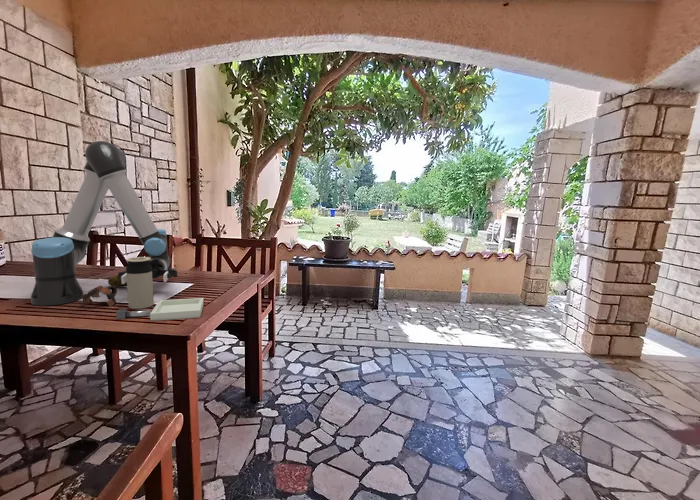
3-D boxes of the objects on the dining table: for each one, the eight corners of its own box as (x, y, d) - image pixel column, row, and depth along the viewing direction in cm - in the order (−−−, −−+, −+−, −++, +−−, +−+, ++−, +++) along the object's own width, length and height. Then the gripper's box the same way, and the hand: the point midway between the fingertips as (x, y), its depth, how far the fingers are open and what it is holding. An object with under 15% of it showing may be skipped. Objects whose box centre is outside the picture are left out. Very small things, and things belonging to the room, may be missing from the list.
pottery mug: (106, 310, 119) (90, 292, 116) (87, 319, 121) (71, 301, 118) (129, 293, 130) (115, 276, 127) (111, 301, 132) (97, 285, 129)
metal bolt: (116, 319, 109) (116, 311, 109) (119, 316, 112) (118, 309, 112) (149, 317, 113) (148, 309, 112) (151, 314, 115) (150, 307, 115)
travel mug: (142, 310, 119) (139, 261, 116) (123, 308, 120) (119, 259, 117) (158, 303, 126) (156, 257, 124) (140, 302, 128) (137, 256, 125)
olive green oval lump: (123, 283, 153) (122, 266, 152) (145, 286, 150) (144, 268, 149) (105, 287, 146) (104, 269, 144) (128, 290, 142) (127, 272, 141)
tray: (150, 321, 109) (150, 313, 109) (159, 306, 123) (159, 300, 123) (200, 317, 114) (199, 310, 114) (203, 304, 128) (203, 297, 128)
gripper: (187, 275, 148) (181, 287, 128) (122, 277, 140) (104, 291, 120) (187, 258, 147) (180, 268, 127) (121, 260, 138) (103, 270, 119)
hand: (143, 279), depth 124 cm, fingers open, 13 cm apart
